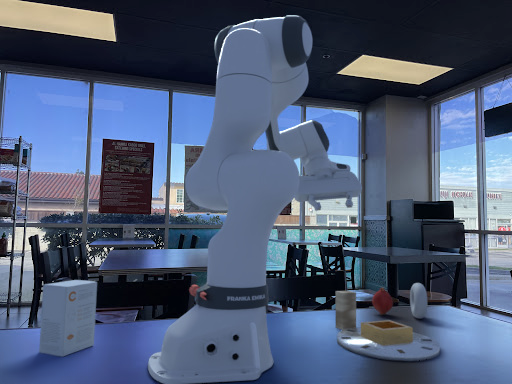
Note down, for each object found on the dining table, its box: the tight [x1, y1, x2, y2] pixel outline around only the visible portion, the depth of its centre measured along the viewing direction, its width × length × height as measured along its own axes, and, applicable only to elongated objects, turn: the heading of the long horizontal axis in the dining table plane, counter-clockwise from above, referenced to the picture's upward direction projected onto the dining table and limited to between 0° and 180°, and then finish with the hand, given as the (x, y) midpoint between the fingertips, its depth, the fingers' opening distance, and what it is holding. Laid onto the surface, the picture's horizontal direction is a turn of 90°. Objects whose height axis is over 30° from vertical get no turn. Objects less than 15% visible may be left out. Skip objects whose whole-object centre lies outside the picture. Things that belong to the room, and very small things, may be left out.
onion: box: [371, 287, 394, 316], centre depth 116 cm, size 6×6×8 cm
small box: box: [38, 279, 98, 358], centre depth 78 cm, size 8×6×13 cm
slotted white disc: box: [336, 319, 440, 362], centre depth 85 cm, size 21×21×4 cm
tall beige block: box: [335, 290, 357, 331], centre depth 99 cm, size 4×3×9 cm
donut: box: [409, 282, 428, 320], centre depth 112 cm, size 10×4×10 cm, turn 168°
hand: (334, 207), depth 111 cm, fingers open, 8 cm apart
